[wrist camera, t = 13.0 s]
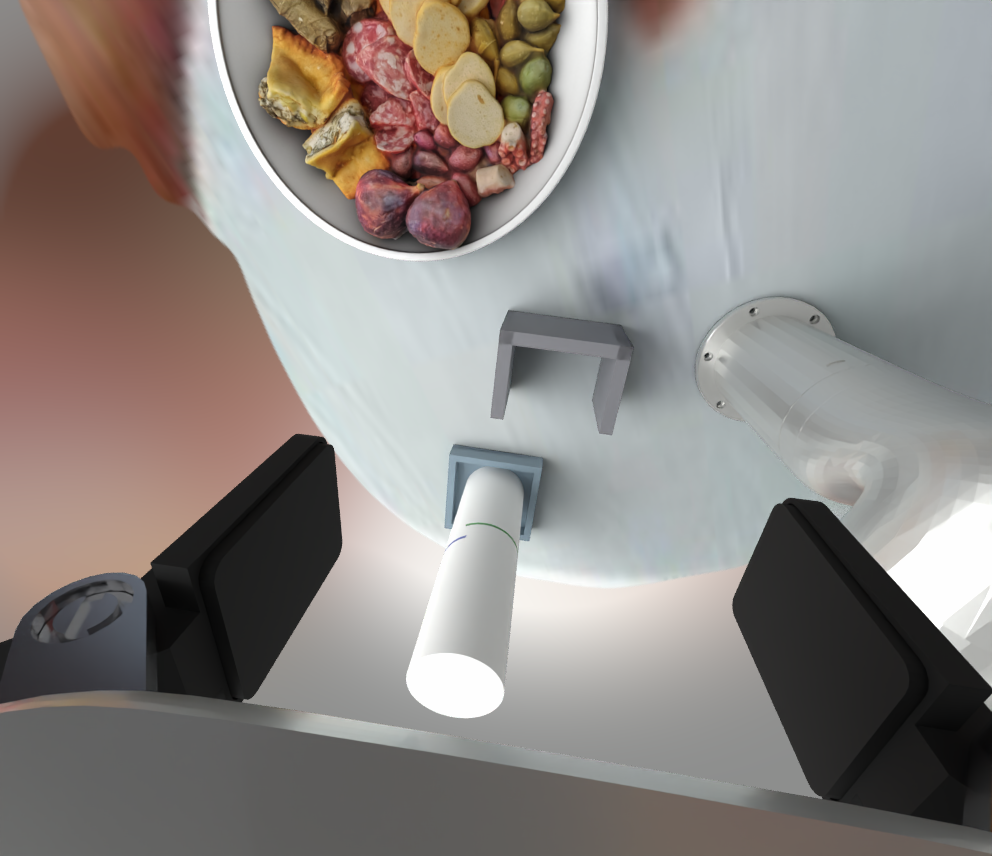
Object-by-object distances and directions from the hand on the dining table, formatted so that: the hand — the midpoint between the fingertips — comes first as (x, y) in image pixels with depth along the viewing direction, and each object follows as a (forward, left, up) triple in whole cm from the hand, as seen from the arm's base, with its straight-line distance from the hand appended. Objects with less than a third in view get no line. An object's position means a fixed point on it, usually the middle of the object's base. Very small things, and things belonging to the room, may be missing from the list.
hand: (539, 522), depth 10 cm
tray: (+3, +26, -38) cm, 46 cm away
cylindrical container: (+3, +25, -38) cm, 45 cm away
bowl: (+13, -15, -39) cm, 44 cm away
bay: (-2, +8, -38) cm, 39 cm away
